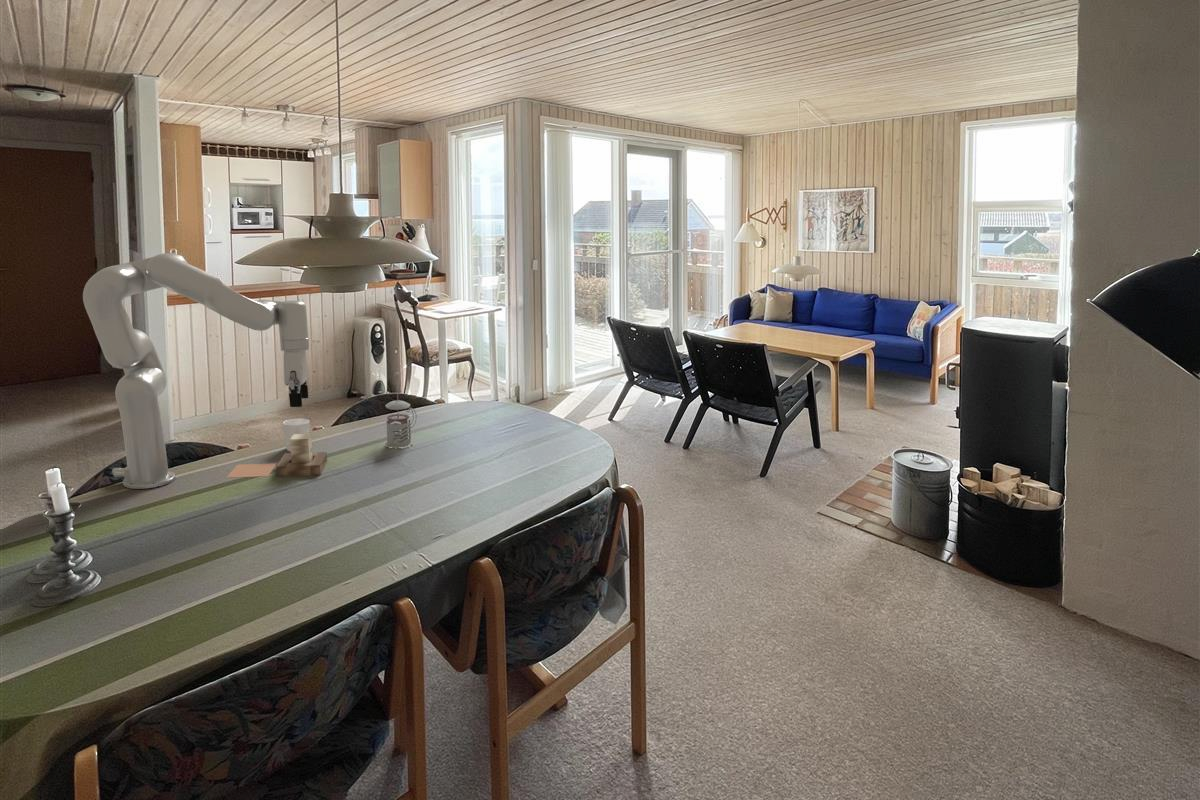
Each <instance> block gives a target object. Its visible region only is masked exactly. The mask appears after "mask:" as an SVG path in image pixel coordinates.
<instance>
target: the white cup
mask: <svg viewBox="0 0 1200 800" xmlns="http://www.w3.org/2000/svg"><path fill="white" fill-rule="evenodd" d="M282 426H283V427H282V428H283V436H284V443H285V448H286V451H288V452H291V448H290V439H291V437H292V436H293V434H311V431H310V419H307V418H303V417H301V418H299V417H297V418H291V419H290V418H288V419H286V420H284V421H283V422H282Z"/></svg>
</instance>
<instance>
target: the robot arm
mask: <svg viewBox="0 0 1200 800" xmlns="http://www.w3.org/2000/svg"><path fill="white" fill-rule="evenodd" d="M161 288H164V289H167V290H168V291H171V292H173V293H176V294H178V295H180V296H182V297H185V298H187V299H190V300H192V301H194V302H196V303H198V304H201V305H203V306H205V307H206V308H207V309H209V310H211V311H213V312H215V313H217V314H218V315H220V316H222V317H224V318H226V319H228V320H230V321H232V322H234V323H237V324H239V325H241V326H243V327H246V328H248V329H251V330H254V331H259V332H261V331H262V332H263V331H266V330H269V329H270V328H271V327H272V326H275V325H278V330H279V331H278V332H279V343H280V351H281V352H283V381H284V385H285V386H288V396H289V397H288V398H289V407H290V408H301V407H303V399H308V398H309V387H308V381H307V380H308V378H309V377H308V375H309V374H308V372H309V371H308V360H307V359H308V358H307V352H306V351H309V350H310V340H309V330H308V329H309V328H308V317H307V315H308V314H307V306H306V303H305V302H304V301H301V300H283V301H280V300H279V301H278V300H269V299H259V300H253V299H251V298H249V297H247V296H244V295H243V294H240V293H239V292H237V291H235V290H233V289H232V288H230V287H229V286H228V285H227V284H226V283H225V282H224V281H223V280H222V279H221V278H220V277H218V276H217V275H214V274H211V273H210V272H208V271H205V270H203V269H200V268H199V267H196V266H194V265H192V264H190V263H188V261H187V260H186V259H185V258H184V257H183V256H181V255H179V254H177V253H173V252H164V253H160V254H157V255H155V256H151V257H147V258H142V259H138V260H134V261H130V262H126V263H120V264H115V265H111V266H107V267H104V268H102V269H100V270H99V271H97V272H96V273H94V274H93V275H92V276H91V277H89V279H88V280H87V282H86V283H85V285H84V288H83V291H82V301H83V305H84V308H85V310H86V313H87V315H88V318H89V320H90V323H91V325H92V327H93V331H94V334H95V337H96V338H97V341H98V343H99V346H100V348H101V351H102V353H103V357H104V358H105V360H106V361H107V363H108V364H110V366H112V367H114V368H116V369H122V370H123V372H124V375H123V376H122V377H121V378H120V379H119V380H118V382H117V384H116V385H115V386H116V387H115V391H114V394H115V401H116V404H117V408H118V411H119V416H120V422H121V428H122V429H121V430H122V434H123V441H124V450H125V451H124V452H125V459H126V465H127V466H125V467H124V468H122V467H114V468H112V472H111V473H112V475H113V477H114V478H120V477H123V478H124V479H122V486H124V487H125V488H127V489H132V490H141V489H142V490H145V489H151V488H152V489H153V488H159V487H162V486H165V485H168V484H170V483H172V482H174V481H175V479H176V473H175V472H174V471H170V470H169V466H168V457H167V456H168V455H167V450H166V447H167V446H166V440H165V431H164V423H163V416H162V410H161V407H160V405H159V403H160V402H159V396H160V395H161V394H163V392H164V391H165V389H166V387H167V377H166V373H165V371H164V368H163V365H162V363H161V360H160V358H159V355H158V353H157V350H156V347H155V345H154V343H153V341H152V340H151V338H150V336H148V334H147V333H145V332H144V331H142V330H140V329H136V328H134V326H133V325H132V323H131V322H132V321H131V318H130V316H129V313H128V312H127V310H126V309H125V307H124V305H123V300H125V298H127V297H132V296H134V295H136V294H137V295H138V294H141V293H143V292H147V291H148V292H149V291H151V290H157V289H161ZM158 486H159V487H158Z"/></svg>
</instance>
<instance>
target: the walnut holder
mask: <svg viewBox="0 0 1200 800" xmlns="http://www.w3.org/2000/svg"><path fill="white" fill-rule="evenodd" d="M327 453H328V452H327V451H325V452H324V451H322V452H321V451H319V452H317V451H316V452H312V455H313V461H312V462H305V463H292V462H291V452H288V453H287V452H285V453H284V454H283V455H282V457H281V459H280V460H279V461H278V463H276V465H275V469H276V471H275V472H276V477H298V476H299V477H301V476H303V477H304V476H306V477H307V476H321V475H322V473H323V471H324V469H325V467H326V465H327V463H328V455H327Z"/></svg>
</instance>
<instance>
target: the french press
mask: <svg viewBox="0 0 1200 800" xmlns="http://www.w3.org/2000/svg"><path fill="white" fill-rule="evenodd" d="M393 376H394V377H400V376H401V374H400V372H398V371H397V372H396V371H395V372H394V373H393ZM396 393H397V395H396V397H397V398H396V399H397V400H392V401H389V402H388V403H386V404H385V406H384V407H385V408H386V409H388V410H392V411H393V410H395V411H399V410H405V411H406V412H408V413H409V412H410V411H411V412H412V420H410V416H409V415H408V414H406V413H405V414H400V413H399V412H397V413H394V414H389V415H387V420H386V439H387V440H386V442H385V443H384V444H385V445H386V446H387V447H392V448H399V447H405V446H408V445H411V444H412V442H413V441H412V439H411V438H412V436H411V435H412V432H411V431H412V428H414V426H415V425H416V423H417V419H418V418H417V412H416V410H415V409H414V408H412V407H411V404H410V403H408V402H406V401H404V400H400V399H399V387H398V381H396ZM407 409H408V410H407ZM414 414H415V420H414ZM413 421H414V424H413ZM395 422H397V423H395ZM412 424H413V425H412ZM411 425H412V426H411Z"/></svg>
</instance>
